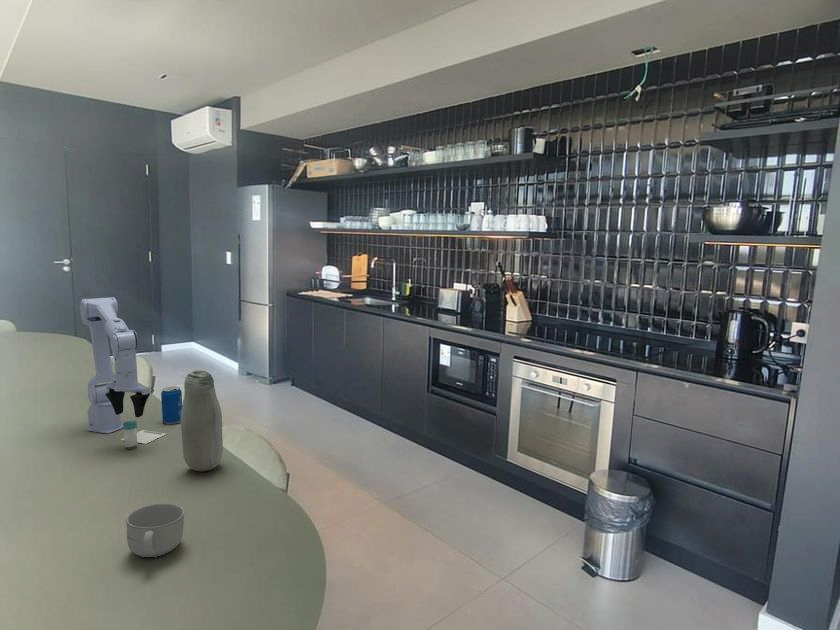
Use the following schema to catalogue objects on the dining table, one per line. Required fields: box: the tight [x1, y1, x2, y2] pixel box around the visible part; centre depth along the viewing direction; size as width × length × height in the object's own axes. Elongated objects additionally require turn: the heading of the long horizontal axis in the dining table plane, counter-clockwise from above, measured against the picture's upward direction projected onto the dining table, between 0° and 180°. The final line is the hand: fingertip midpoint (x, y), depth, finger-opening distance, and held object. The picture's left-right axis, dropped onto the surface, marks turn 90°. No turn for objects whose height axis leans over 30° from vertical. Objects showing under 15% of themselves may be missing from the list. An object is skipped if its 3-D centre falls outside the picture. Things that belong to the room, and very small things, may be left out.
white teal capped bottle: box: [122, 420, 139, 450], centre depth 165 cm, size 4×4×8 cm
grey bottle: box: [180, 370, 224, 472], centre depth 149 cm, size 10×10×28 cm
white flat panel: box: [120, 429, 167, 445], centre depth 174 cm, size 10×9×1 cm
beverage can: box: [160, 386, 183, 425], centre depth 188 cm, size 6×6×12 cm
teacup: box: [125, 502, 185, 558], centre depth 110 cm, size 14×11×8 cm
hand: (129, 415), depth 164 cm, fingers open, 7 cm apart
